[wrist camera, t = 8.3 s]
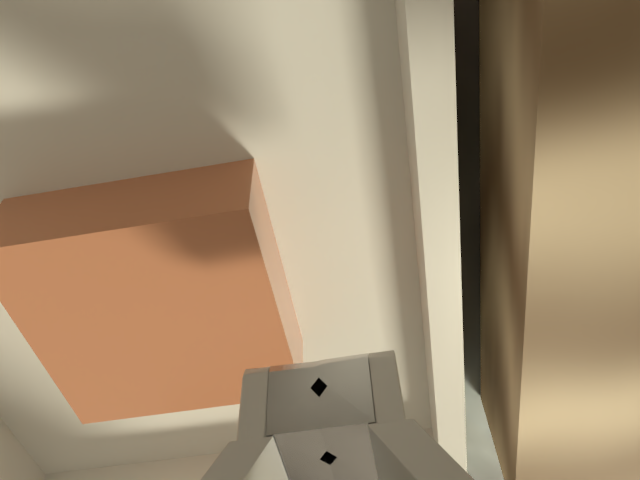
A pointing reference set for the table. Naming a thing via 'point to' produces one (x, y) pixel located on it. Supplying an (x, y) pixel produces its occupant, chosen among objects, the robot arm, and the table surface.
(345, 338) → the box
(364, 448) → the robot arm
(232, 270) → the tile
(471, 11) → the table surface
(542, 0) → the block
